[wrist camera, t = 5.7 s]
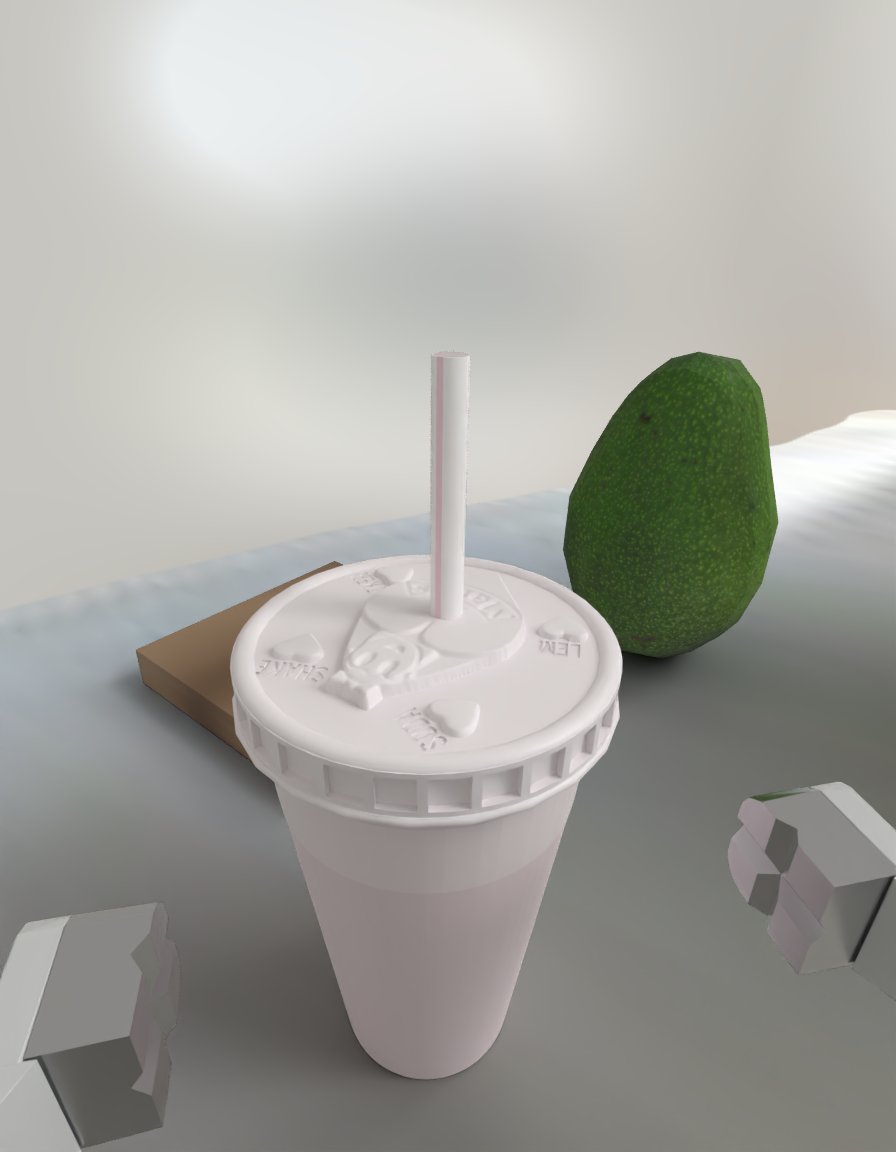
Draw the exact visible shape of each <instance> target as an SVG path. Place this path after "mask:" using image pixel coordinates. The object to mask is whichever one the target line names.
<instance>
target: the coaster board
mask: <svg viewBox="0 0 896 1152" xmlns="http://www.w3.org/2000/svg"><path fill="white" fill-rule="evenodd" d="M342 565H343V564H340V563H338V562H335V561H334V562H332V563H329V564H327V565H325V566H323V567H321V568H318V569H316V570H314V571H312V572H309V573H307V574H305V575H303V576H300V577H298V578H296V579H294V580H291V581H289V582H287V583H285V584H282V585H280V586H278V587H276V588H273V589H271V590H269V591H267V592H264V593H262V594H260V595H258V596H256V597H253V598H251V599H249V600H247V601H244V602H242V603H240V604H238V605H235V606H233V607H231V608H229V609H226V610H224V611H222V612H220V613H217V614H215V615H213V616H211V617H208V618H206V619H204V620H202V621H200V622H197V623H195V624H193V625H191V626H188V627H186V628H184V629H182V630H179V631H177V632H175V633H173V634H170V635H168V636H166V637H164V638H161V639H159V640H157V641H155V642H152V643H150V644H148V645H146V646H143V647H141V648H139V649H137V650H136V654H137V658H138V662H139V666H140V670H141V675H142V679H143V683H144V684H146V685H147V686H149V687H150V688H151V689H153V690H154V691H155V692H157V693H158V694H160V695H161V696H162V697H164V698H165V699H166V700H168V701H169V702H171V703H172V704H173V705H175V706H176V707H177V708H179V709H180V710H182V711H183V712H184V713H186V714H187V715H188V716H190V717H191V718H193V719H194V720H195V721H197V722H198V723H199V724H201V725H202V726H204V727H205V728H206V729H208V730H209V731H210V732H212V733H213V734H214V735H216V736H217V737H219V738H220V739H221V740H223V741H224V742H225V743H227V744H228V745H230V746H231V747H232V748H234V749H235V750H236V751H238V752H239V753H241V754H242V755H243V756H245V757H246V758H247V759H249V760H250V761H252V760H251V758H250V757H249V755H248V753H247V752H246V750H245V748H244V747H243V745H242V743H241V742H240V740H239V738H238V737H237V735H236V732H235V722H234V713H233V703H232V699H233V696H234V689H233V685H232V678H231V671H230V662H231V654H232V650H233V646H234V644H235V641H236V639H237V636H238V635H239V633H240V631H241V630H242V628H243V626H244V625H245V624H246V623H247V621H248V620H249V619H250V618H251V616H252V615H253V614H254V613H255V612H256V611H257V610H258V609H260V608H261V607H262V606H263V605H264V604H265V603H266V602H268V601H269V600H270V599H271V598H273V597H274V596H276V595H277V594H279V593H281V592H282V591H284V590H285V589H287V588H288V587H290V586H292V585H293V584H295V583H298V582H300V581H302V580H304V579H306V578H309V577H311V576H313V575H315V574H318V573H321V572H324V571H327V570H330V569H333V568H336V567H339V566H342Z"/></svg>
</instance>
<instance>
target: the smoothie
mask: <svg viewBox="0 0 896 1152" xmlns="http://www.w3.org/2000/svg"><path fill="white" fill-rule="evenodd" d="M469 381H470V354H468V353H464V352H454V351H453V352H452V351H449V352H448V351H444V352H435V353H432V354H431V554H429V555H401V556H392V557H384V558H376V559H370V560H365V561H360V562H356V563H351V564H346V565H342V566H339V567H336V568H333V569H330V570H327V571H324V572H321V573H318V574H315V575H313V576H311V577H309V578H306V579H304V580H302V581H300V582H298V583H295V584H293V585H292V586H290V587H288V588H287V589H285V590H284V591H282V592H281V593H279V594H277V595H276V596H274V597H273V598H271V599H270V600H269V601H268V602H266V603H265V604H264V605H263V606H262V607H261V608H260V609H258V610H257V611H256V612H255V613H254V614H253V615H252V616H251V618H250V619H249V620H248V621H247V623H246V624H245V625H244V626H243V628H242V630H241V631H240V633H239V635H238V636H237V639H236V641H235V644H234V646H233V650H232V654H231V662H230V671H231V678H232V685H233V689H234V696H233V699H232V703H233V713H234V722H235V732H236V735H237V737H238V738H239V740H240V742H241V743H242V745H243V747H244V748H245V750H246V752H247V753H248V755H249V757H250V758H251V760H252V762H253V763H254V765H255V767H256V768H257V769H258V770H260V771H261V772H262V773H264V774H265V775H266V776H267V777H269V778H270V779H271V780H272V781H274V783H275V787H276V790H277V794H278V797H279V801H280V804H281V807H282V811H283V813H284V816H285V819H286V821H287V824H288V827H289V830H290V833H291V836H292V839H293V843H294V846H295V849H296V852H297V855H298V858H299V862H300V865H301V868H302V871H303V874H304V877H305V881H306V884H307V887H308V890H309V893H310V896H311V899H312V903H313V906H314V909H315V912H316V915H317V918H318V922H319V925H320V928H321V931H322V934H323V937H324V941H325V944H326V947H327V950H328V953H329V956H330V960H331V963H332V966H333V969H334V972H335V975H336V978H337V982H338V985H339V988H340V991H341V994H342V997H343V1001H344V1004H345V1007H346V1010H347V1013H348V1016H349V1020H350V1023H351V1026H352V1029H353V1031H354V1033H355V1035H356V1037H357V1039H358V1041H359V1043H360V1044H361V1046H362V1047H363V1048H364V1050H365V1051H366V1052H367V1053H368V1054H369V1055H370V1056H371V1058H373V1059H374V1060H375V1061H376V1062H377V1063H379V1064H380V1065H381V1066H383V1067H384V1068H386V1069H388V1070H390V1071H392V1072H394V1073H396V1074H399V1075H401V1076H405V1077H409V1078H414V1079H438V1078H444V1077H447V1076H451V1075H453V1074H456V1073H458V1072H461V1071H463V1070H464V1069H466V1068H468V1067H470V1066H471V1065H472V1064H474V1063H475V1062H476V1061H478V1060H479V1059H480V1058H481V1057H482V1056H483V1055H484V1054H485V1053H486V1052H487V1051H488V1050H489V1048H490V1047H491V1046H492V1044H493V1043H494V1041H495V1040H496V1038H497V1036H498V1034H499V1032H500V1030H501V1028H502V1025H503V1022H504V1019H505V1016H506V1013H507V1010H508V1007H509V1003H510V1000H511V997H512V994H513V991H514V987H515V984H516V981H517V978H518V975H519V971H520V968H521V965H522V962H523V959H524V955H525V952H526V949H527V946H528V943H529V940H530V936H531V933H532V930H533V927H534V924H535V920H536V917H537V914H538V911H539V908H540V904H541V901H542V898H543V895H544V892H545V888H546V885H547V882H548V879H549V876H550V872H551V869H552V866H553V863H554V860H555V856H556V853H557V850H558V847H559V844H560V840H561V837H562V834H563V831H564V828H565V824H566V821H567V819H568V816H569V813H570V811H571V808H572V805H573V801H574V798H575V794H576V791H577V787H578V784H579V781H580V780H581V778H582V777H583V776H584V775H585V774H586V773H587V772H588V771H589V770H590V769H591V768H592V767H593V766H594V765H595V764H596V762H597V761H598V760H599V759H600V758H601V757H602V756H603V755H604V754H605V753H606V752H607V749H608V747H609V744H610V742H611V739H612V736H613V734H614V731H615V728H616V726H617V723H618V721H619V718H620V716H619V702H618V691H619V687H620V681H621V676H622V654H621V649H620V646H619V643H618V640H617V638H616V636H615V634H614V632H613V630H612V629H611V627H610V626H609V624H608V623H607V622H606V620H605V619H604V618H603V617H602V616H601V615H600V614H599V613H598V611H597V610H595V609H594V608H593V607H592V606H591V605H590V604H589V603H588V602H587V601H586V600H584V599H583V598H581V597H580V596H578V595H577V594H575V593H574V592H572V591H571V590H569V589H568V588H566V587H565V586H563V585H561V584H559V583H557V582H554V581H552V580H550V579H548V578H546V577H544V576H542V575H539V574H536V573H534V572H531V571H528V570H525V569H522V568H519V567H516V566H512V565H508V564H504V563H499V562H495V561H491V560H486V559H478V558H471V557H464V556H465V521H466V484H467V451H468V414H469Z"/></svg>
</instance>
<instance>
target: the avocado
mask: <svg viewBox="0 0 896 1152" xmlns="http://www.w3.org/2000/svg"><path fill="white" fill-rule="evenodd" d="M777 525H778V515H777V508H776V500H775V492H774V484H773V477H772V469H771V459H770V449H769V440H768V430H767V421H766V415H765V409H764V402H763V397H762V393H761V390H760V387H759V386H758V384H757V383H756V382H755V380H754V379H753V377H752V376H751V375H750V373H749V372H748V371H747V369H746V368H745V367H744V365H743V364H742V362H741V361H740V360H737V359H732V358H727V357H722V356H717V355H712V354H707V353H702V352H696V353H692V354H688V355H684V356H680V357H676V358H671V359H670V360H669V361H667V362H666V363H665V364H663V365H662V366H660V367H659V368H657V369H656V370H655V371H653V372H652V373H651V374H650V375H649V376H647V377H646V378H645V379H644V380H642V381H641V382H640V383H639V384H638V385H637V387H636V388H635V389H634V390H633V391H632V392H631V393H630V394H629V395H628V396H627V398H626V399H625V400H624V402H623V403H622V404H621V406H620V407H619V408H618V410H617V411H616V412H615V414H614V415H613V416H612V418H611V420H610V421H609V423H608V425H607V426H606V428H605V430H604V431H603V433H602V435H601V436H600V438H599V440H598V441H597V443H596V445H595V446H594V448H593V450H592V451H591V453H590V456H589V458H588V460H587V462H586V464H585V466H584V468H583V470H582V472H581V474H580V476H579V478H578V480H577V482H576V484H575V486H574V488H573V490H572V492H571V494H570V497H569V505H568V513H567V521H566V529H565V537H564V548H563V551H564V556H565V560H566V564H567V569H568V573H569V577H570V582H571V586H572V589H573V592H574V593H575V594H577V595H578V596H580V597H581V598H583V599H584V600H586V601H587V602H588V603H589V604H590V605H591V606H592V607H593V608H594V609H595V610H597V611H598V613H599V614H600V615H601V616H602V617H603V618H604V619H605V620H606V622H607V623H608V624H609V626H610V627H611V629H612V630H613V632H614V634H615V636H616V638H617V640H618V643H619V646H620V649H621V651H626V652H631V653H637V654H642V655H647V656H652V657H658V658H665V657H669V656H673V655H678V654H682V653H686V652H690V651H692V650H694V649H696V648H698V647H700V646H702V645H704V644H705V643H707V642H709V641H711V640H713V639H715V638H717V637H718V636H720V635H721V634H722V633H724V632H725V631H726V630H728V629H729V628H730V627H731V626H733V625H734V624H735V623H737V622H738V621H739V619H740V618H741V616H742V614H743V613H744V611H745V610H746V608H747V606H748V605H749V603H750V601H751V600H752V598H753V597H754V595H755V593H756V592H757V590H758V588H759V587H760V585H761V584H762V580H763V577H764V573H765V569H766V566H767V562H768V558H769V555H770V551H771V547H772V544H773V540H774V536H775V533H776V529H777Z"/></svg>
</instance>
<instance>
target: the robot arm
mask: <svg viewBox="0 0 896 1152" xmlns="http://www.w3.org/2000/svg"><path fill="white" fill-rule="evenodd" d="M738 818H739V819H740V821H741V822H742V824H743V826H742V827H741V828H740V829H739V830H738V831H737V832H736V833H735V834H734V836H733V837H732V838H731V841H730V845H729V849H728V854H727V855H728V861H729V866H730V872H731V875H732V877H733V879H734V882H735V884H736V886H737V888H738V890H739V891H740V893H741V894H742V896H743V897H744V899H745V900H746V902H747V903H748V904H749V905H751V906H752V907H754V908H756V909H757V910H759V911H760V912H762V913H764V914H765V915H767V932H768V934H769V935H770V936H771V938H772V939H773V941H774V942H775V944H776V945H777V946H778V948H779V949H780V951H781V952H782V954H783V955H784V956H785V958H786V959H787V961H788V962H789V964H790V965H791V966H792V968H793V969H794V971H795V972H796V974H797V975H798V976H800V975H805V974H809V973H814V972H819V971H824V970H829V969H834V968H839V967H844V966H849V965H853V967H852V969H853V970H855V971H856V972H857V973H859V974H860V975H861V976H863V977H864V978H866V979H867V980H868V981H870V982H871V983H872V984H874V985H875V986H876V987H878V988H879V989H880V990H882V991H883V992H885V993H886V994H887V995H889V996H890V997H891V998H893V999H894V1000H895V1001H896V830H895V829H894V828H893V827H892V826H891V825H890V824H889V823H888V822H886V821H885V820H884V819H883V818H882V817H881V816H880V815H879V814H878V813H877V812H876V811H875V810H874V809H873V808H872V807H871V806H870V805H869V804H868V803H867V802H866V801H865V800H864V799H863V798H862V797H861V796H860V795H859V794H858V793H857V792H856V791H855V790H854V789H852V788H851V787H850V786H848V785H846V784H844V783H842V782H833V783H827V784H822V785H816V786H810V787H807V788H806V787H800V788H795V789H790V790H785V791H780V792H774V793H769V794H764V795H759V796H753V797H749V798H747V799H746V800H745V801H744V802H743V803H742V804H741V807H740V810H739V813H738ZM167 926H168V916H167V912H166V909H165V906H164V903H163V902H155V903H149V904H142V905H135V906H129V907H122V908H115V909H108V910H102V911H95V912H88V913H81V914H75V915H69V916H63V917H57V918H51V919H44V920H38V921H32V922H27V923H26V924H25V925H24V927H23V928H22V929H21V931H20V932H19V933H18V935H17V936H16V938H15V940H14V943H13V945H12V948H11V951H10V953H9V956H8V958H7V961H6V964H5V966H4V969H3V972H2V974H1V977H0V1152H82V1151H81V1149H82V1148H86V1147H90V1146H93V1145H97V1144H101V1143H105V1142H108V1141H112V1140H116V1139H120V1138H123V1137H127V1136H131V1135H135V1134H138V1133H142V1132H146V1131H150V1130H153V1129H157V1128H161V1127H163V1121H164V1114H165V1107H166V1100H167V1092H168V1085H169V1078H170V1071H171V1064H172V1063H171V1060H170V1056H169V1053H168V1050H167V1046H166V1043H165V1039H166V1038H167V1036H168V1035H169V1033H170V1032H171V1031H172V1029H173V1028H174V1027H175V1025H176V1024H177V1018H178V1010H179V1001H180V965H179V956H178V952H177V948H176V944H175V942H174V941H173V940H171V939H169V938H167V937H166V932H167Z"/></svg>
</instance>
